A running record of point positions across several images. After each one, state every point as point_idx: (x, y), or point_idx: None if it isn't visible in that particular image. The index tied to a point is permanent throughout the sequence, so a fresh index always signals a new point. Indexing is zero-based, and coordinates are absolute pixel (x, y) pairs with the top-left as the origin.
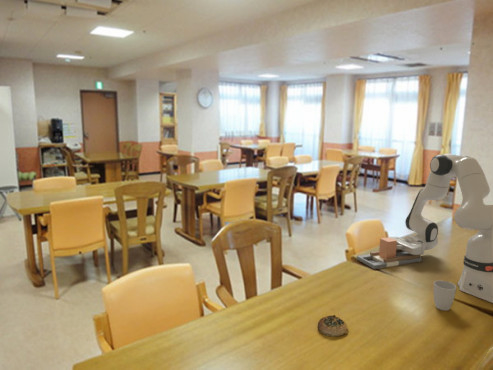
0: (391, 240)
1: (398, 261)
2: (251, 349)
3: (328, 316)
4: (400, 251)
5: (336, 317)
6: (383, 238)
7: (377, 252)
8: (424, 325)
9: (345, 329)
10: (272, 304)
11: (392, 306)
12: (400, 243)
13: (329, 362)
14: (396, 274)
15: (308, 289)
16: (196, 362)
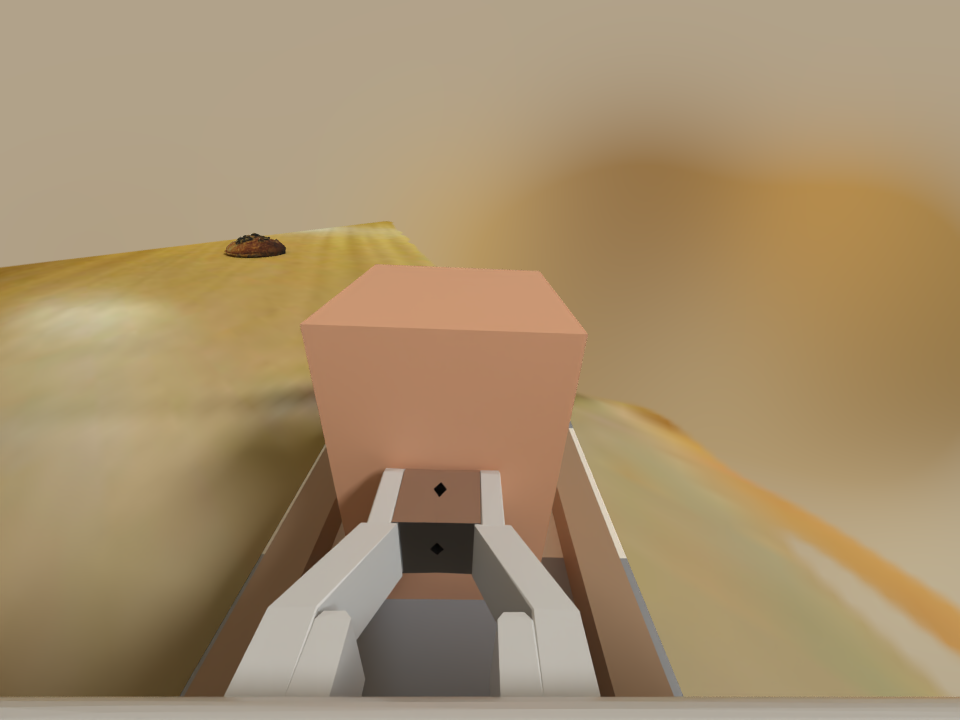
0: (389, 290)
1: (266, 549)
2: (315, 234)
3: (270, 240)
4: None
5: (253, 239)
6: (526, 280)
7: None
8: (19, 297)
9: (227, 246)
10: (383, 248)
11: (153, 299)
12: (356, 705)
13: (219, 242)
14: (214, 426)
15: None
16: (337, 227)
